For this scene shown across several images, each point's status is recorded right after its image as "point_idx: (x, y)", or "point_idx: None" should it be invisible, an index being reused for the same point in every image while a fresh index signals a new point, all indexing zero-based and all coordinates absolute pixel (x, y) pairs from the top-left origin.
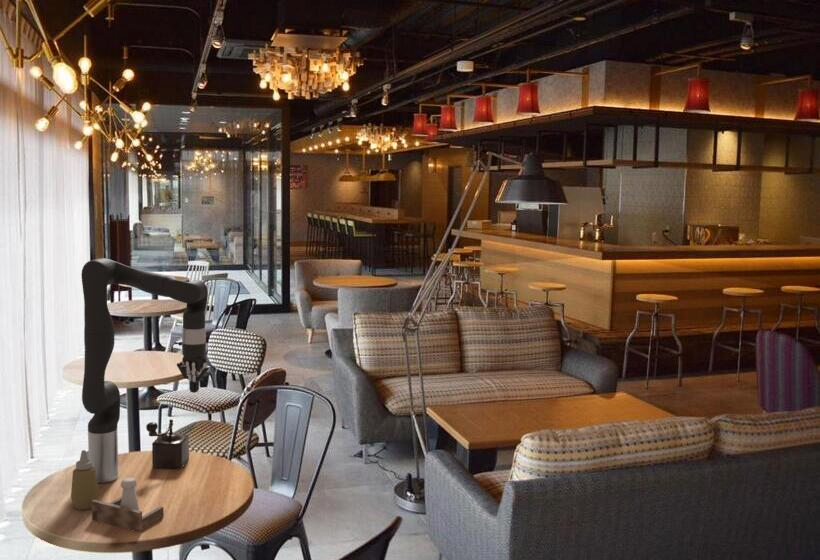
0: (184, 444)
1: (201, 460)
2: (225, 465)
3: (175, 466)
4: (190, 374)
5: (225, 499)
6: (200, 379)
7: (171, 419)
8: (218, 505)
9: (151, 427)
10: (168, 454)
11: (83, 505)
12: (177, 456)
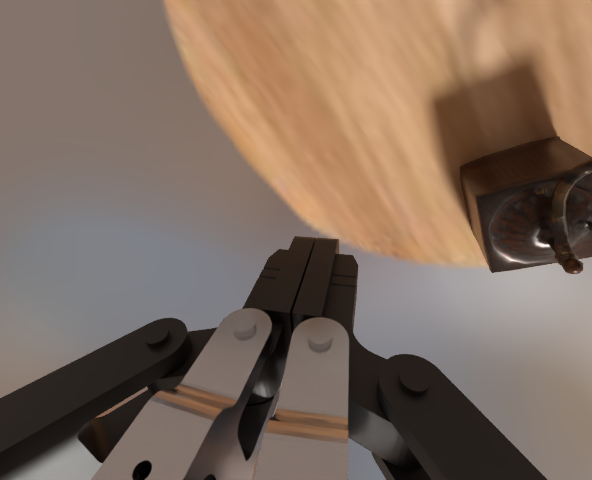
0: (479, 226)
1: (433, 235)
2: (358, 230)
3: (476, 163)
4: (272, 420)
5: (227, 56)
6: (132, 336)
7: (574, 271)
8: (214, 10)
9: None
10: (512, 169)
11: None
12: (477, 177)
